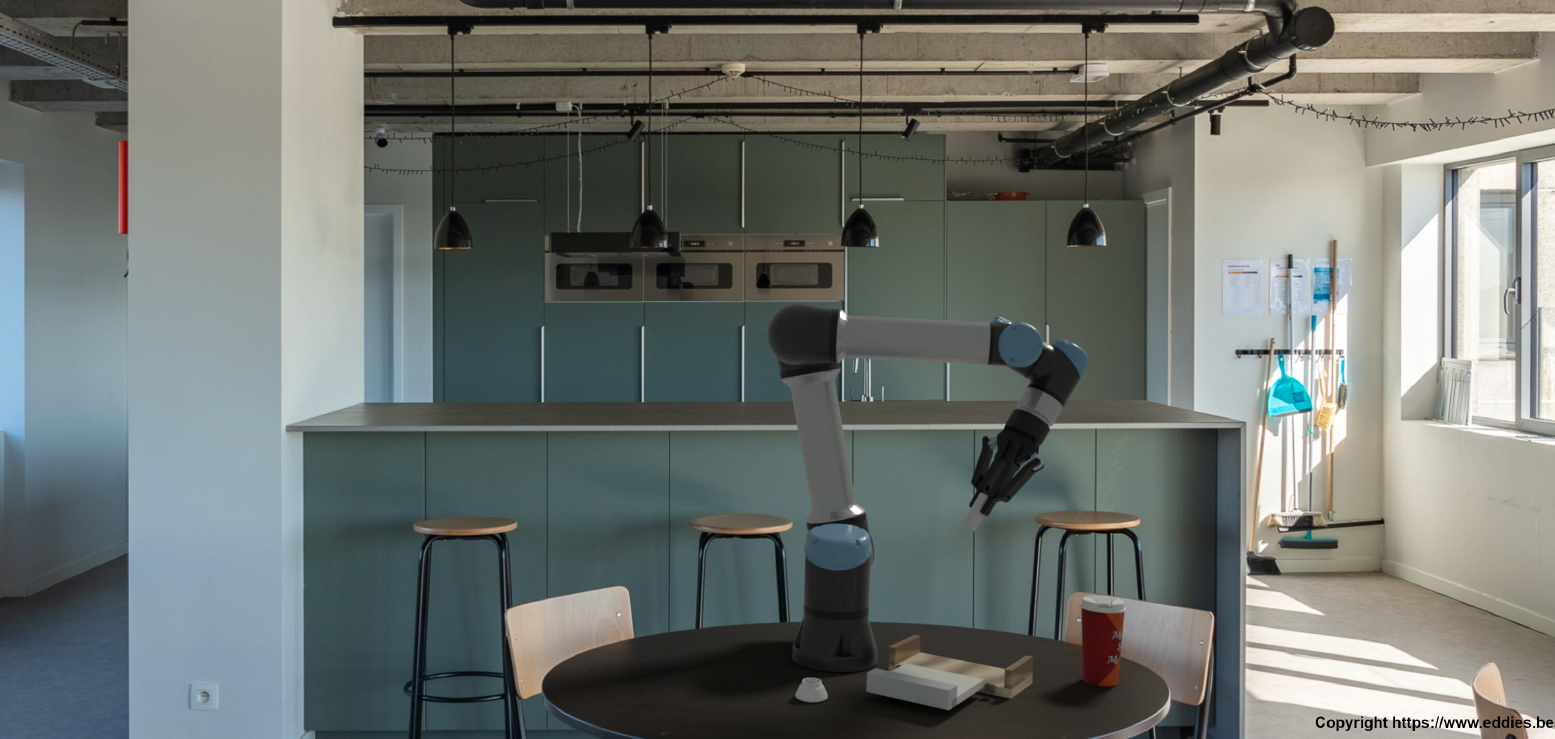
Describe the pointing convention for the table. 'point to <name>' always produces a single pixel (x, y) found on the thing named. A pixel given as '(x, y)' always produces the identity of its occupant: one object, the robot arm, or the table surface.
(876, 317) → the robot arm
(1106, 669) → the paper cup
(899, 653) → the cart bed
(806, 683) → the white jar
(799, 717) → the table surface
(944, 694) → the tailgate
